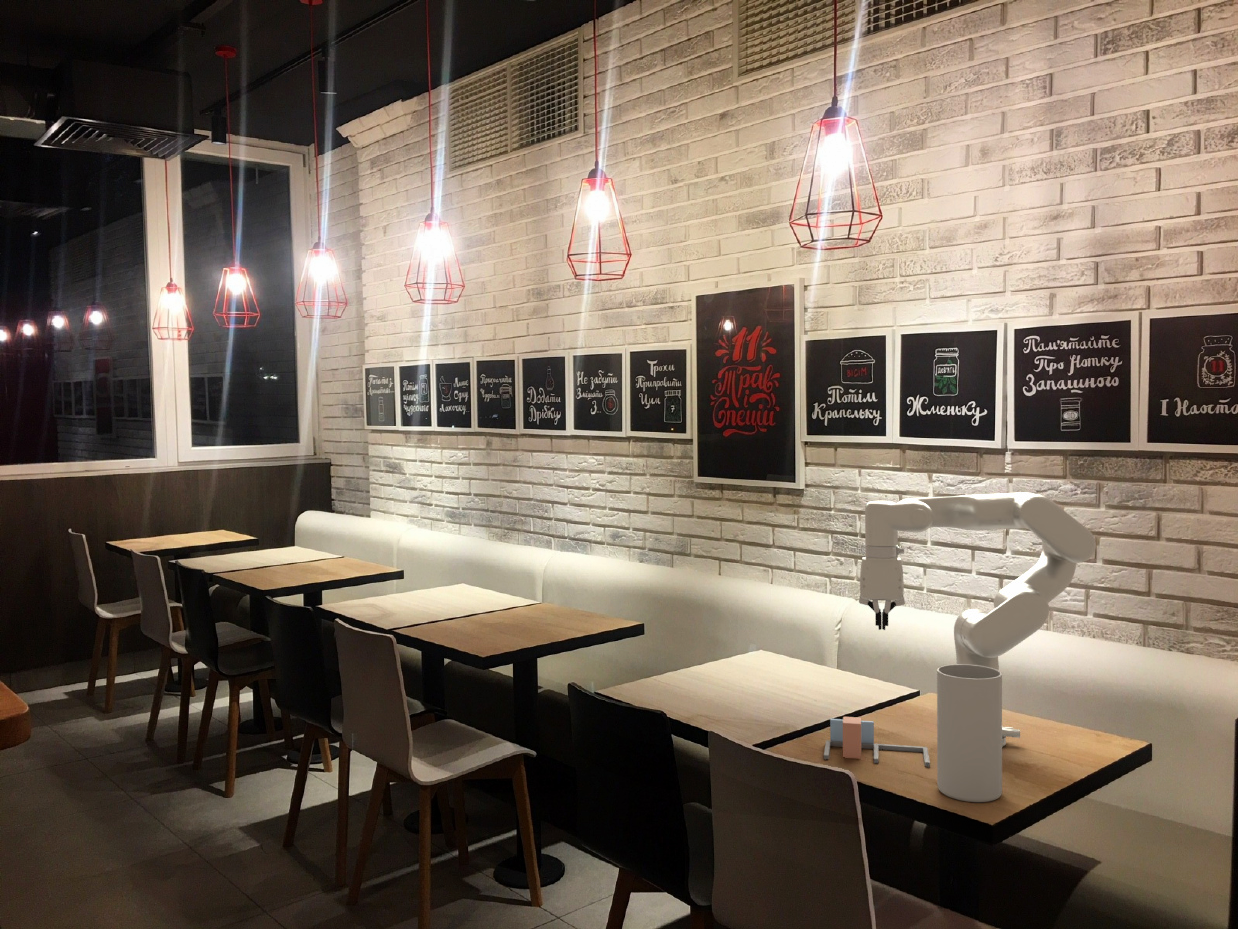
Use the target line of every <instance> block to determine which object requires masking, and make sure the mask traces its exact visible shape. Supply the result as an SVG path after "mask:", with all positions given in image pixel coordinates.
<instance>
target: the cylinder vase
mask: <svg viewBox="0 0 1238 929" xmlns="http://www.w3.org/2000/svg"><path fill="white" fill-rule="evenodd" d="M936 679H937V680H936V727H937V728H936V729H937V733H936V734H937V736H936V739H937V742H936V744H937V750H936V751H937V752H936V754H937V756H936V757H937V758H936V759H937V762H936V763H937V765H936V767H937V768H936V771H937V783H936V784H937V788H938V790H939V792H940V793H942V794H943V795H945V796H947V797H949V798H951V799H954V800H957V801H962V802H969V803H988V802H993V801H996V800H997V799H999V798H1000V797H1001V796H1002V794H1003V747H1002V727H1003V673H1002V672H1001V671H1000V670H999V671H998V670H996V669H993V668H989V667H985V666H978V665H966V664H955V663H954V664H945V665H942V666H939V667H938V668H936Z"/></svg>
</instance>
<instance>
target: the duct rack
mask: <svg viewBox="0 0 1238 929" xmlns="http://www.w3.org/2000/svg"><path fill="white" fill-rule="evenodd" d="M829 722H830V724H829V725H830V729H829V730H830V734H829V735H830V736H829V737H830V740H827V739H826V740H825V746H824V753H823V760H824V759H825V761H827V760H826V759H828V760H829V759H830V751H831V747H838V748H839V747H840V748H843V719H840V718H830V720H829ZM874 724H875V722H874V721H873V720H872V721H871V720H861V749H867V750H868V749H869V750H870V749H871V750H873V763H874V764H879V750H882V749H883V750H882V751H884V750H885V751H898V752H913V753H922V755H923V760H924V767H927V768H930V767H931V761H930V756H929V749H928V746H918V745H917V746H915V745H902V744H900V745H899V744H888V743H886V744H885V743H875V741H874V740H875V725H874Z"/></svg>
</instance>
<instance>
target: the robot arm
mask: <svg viewBox="0 0 1238 929" xmlns="http://www.w3.org/2000/svg"><path fill="white" fill-rule="evenodd" d="M864 513H865V514H864V521H865V522H864V523H865V524H864V526H865V527H864V532H865V533H864V534H865V535H864V536H865V537H864V539H865V540H864V542H865V543H864V544H865V553H864V554H865V555H864V556H865V557H864V556H863V557H862V559H861V564H860V573H859V574H860V575H859V576H860V577H859V593H860V595H859V598H858V603H859V604H861V605H864V606H868V607H869V608H870V609H871V610H872V611H873V612H874V613H875V623H874V624H875V626H877V627H878V631H880V630H883V631H886V627H889V613H890V612H891V611H892V610H893V609H894V608H896V607H900V606H904V605H905V604H906V601H905V597H904V593H905V592H904V591H905V586H904V583H905V582H904V569H903V563H902V559H901V557H899V555H904V554H905V548H903V547H899V546H898V545H899V541H898V536H899V535H898V534H899V533H898V532H908V533H915V534H916V533H923V532H926V531H927V530H928V529H929V528H951V529H959V530H964V531H993V530H994V531H995V530H996V531H997V530H1014V529H1015V530H1016V529H1027V530H1029V531H1030V532H1031V533H1033V534H1034V535H1035V536H1036V537H1037V538H1038V539H1040V540H1041V547H1042V548H1041V554H1040V556H1039V559H1038V561H1037V562H1036V563H1035V564H1034V565H1033V566H1032V567H1031V568H1029V569H1028V570H1027V571H1025V572H1024V573H1023V574H1021V575H1020V576H1019V577H1018V578H1016V579H1014V580H1012V581H1011V582H1010V583H1008V584H1007V585H1006V586H1004V587H1003V588H1001V589H1000V590H999V591H998V592H997V593H996V594H995V596H994V600H993V607H994V609H993V610H991V611H989V612H987V611H986V610H983V609H979V608H969V609H966V610H964V611H963V612H960V613H959V615H958V617H957V618H956V620H955V623H954V626H953V638H954V646H955V658H956V659H955V662H956V664H966V665H978V666H985V667H989V668H993V669H996V670H998V671H1000V668H999V667H1000V665H999V663H1000V662H999V657H1000V656H1002V655H1005V653H1007V652H1009V651H1010V650H1012V649H1013V648H1015V647H1016V646H1018V645H1019V644H1021V643H1023V641H1025V640H1026V639H1028V638H1029V637H1030V636H1033V634H1035V633H1036V632H1037V631H1039V630H1040V629H1041V628H1042V627H1043V626H1044V625H1045V623H1046V622H1047V620H1048V618H1049V615H1050V605H1049V603H1051V602H1052V601H1053V600H1054V599H1055V598H1057V597H1058V596H1059V595H1060V594H1062V593H1063V592H1064V591H1065V590H1066V589H1067V588H1068V587H1069V585H1070V584H1071V583H1072V580H1073V578H1074V575H1075V572H1076V568H1077V564H1080V563H1085V562H1087V561H1089V560H1090V559H1091V558H1092V557H1093V555H1094V554H1095V552H1096V548H1097V544H1096V539H1095V536H1094V535H1093V533H1092V532H1091V530H1089V528H1087V527H1086V526H1084V525H1083V524H1082V523H1081V522H1079V521H1078V520H1076V518H1074V517H1073V516H1072V515H1070V514H1069V513H1068V512H1067V511H1065V510H1064V509H1063V508H1062V507H1060V506H1059V505H1058V504H1057V503H1055V501H1053V500H1052V499H1050V498H1048V497H1047V496H1045V495H1043V494H1041V493H1040V494H1038V493H1033V492H1025V491H1024V492H1008V493H1007V492H1006V493H1004V492H1003V493H989V494H988V493H987V494H965V495H955V496H936V497H935V496H934V497H933V496H932V497H929V496H928V497H911V498H910V497H909V498H904V499H902V500H900V501H898V502H894V501H889V500H888V501H887V500H874V501H869V502H867V504H866V505H865V509H864ZM879 601H884V602H885V603H884V608H883V609H882V611H881V608H880V604H879ZM1007 737H1008V738H1014V739H1015V738H1017V739H1018V738H1019V739H1020V738H1021V730H1020V729H1018V728H1017V729H1016V728H1014V727H1013V726H1002V748H1003V747H1004V746H1005V745H1006V744H1007V743H1006V742H1007V739H1006V738H1007Z"/></svg>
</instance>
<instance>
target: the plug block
mask: <svg viewBox="0 0 1238 929" xmlns="http://www.w3.org/2000/svg"><path fill="white" fill-rule="evenodd" d="M842 720H843V747H842V758H843V757H845V759H846V758H847V759H857V760H858V759H859V760H861V759H862V748H861V721H862V717H854V716H843V717H842Z"/></svg>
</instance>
